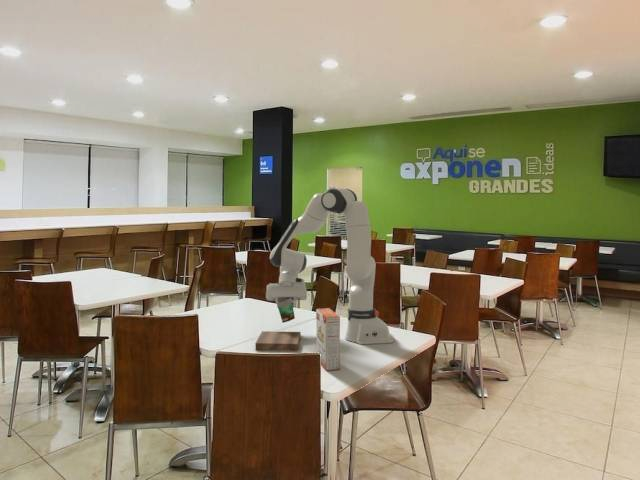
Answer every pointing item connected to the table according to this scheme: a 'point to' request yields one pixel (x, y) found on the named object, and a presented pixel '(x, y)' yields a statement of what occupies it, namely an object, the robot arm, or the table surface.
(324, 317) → the cracker box
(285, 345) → the walnut stand
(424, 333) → the table surface
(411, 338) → the table surface
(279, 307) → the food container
